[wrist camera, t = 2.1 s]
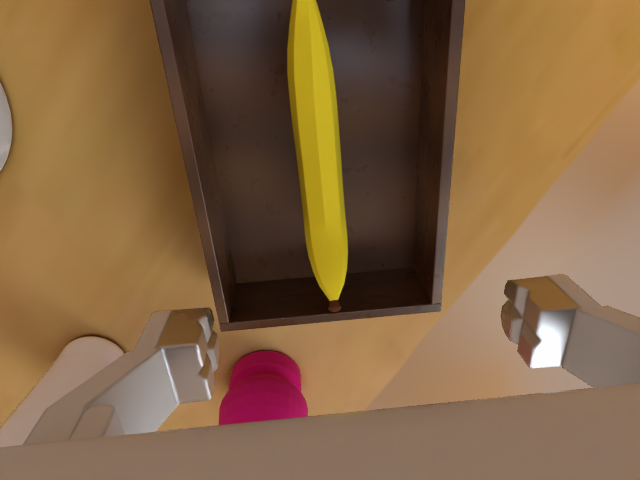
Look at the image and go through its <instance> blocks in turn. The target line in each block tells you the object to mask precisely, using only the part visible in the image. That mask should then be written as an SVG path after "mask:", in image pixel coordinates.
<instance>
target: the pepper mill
mask: <svg viewBox="0 0 640 480" xmlns="http://www.w3.org/2000/svg"><path fill="white" fill-rule="evenodd" d="M298 417H308V408H307V404H306V400H305V398H304V397H303V395H302V393H301V375H300V370H299V368H298V366H297V365H296V363H295V362H294V361H293V360H292V359H291V358H290V357H288V356H286V355H284V354H282V353H278V352H274V351H258V352H254V353H251V354H248V355H246V356H244V357H243V358H242V359H240V360H239V361H238V362H237V363H236V364H235V366H234V368H233V370H232V373H231V379H230V386H229V391H228V392H227V394H226V395H225V397H224V398H223V400H222V403H221V406H220V411H219V425H228V424H238V423H248V422H258V421H268V420H278V419H288V418H298Z"/></svg>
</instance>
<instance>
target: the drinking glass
mask: <svg viewBox="0 0 640 480" xmlns="http://www.w3.org/2000/svg"><path fill="white" fill-rule="evenodd" d="M123 354H124V352H123V351H122V350H121V348H120V347H118V346H117V345H116V344H115V343H113V342H111V341H109V340H107V339H104V338H100V337H93V336H89V337H81V338H78V339H75V340H73V341H72V342H70V343H69V344H67V345H66V346H65V347H64V349H63V350H62V351H61V353H60V354H59V356H58V357H57V359H56V360H55V362H54V363H53V364H52V365H51V367H50V368H49V369H48V370H47V371H46V373H45V374H44V375H43V376H42V378H41V379H40V380H39V381H38V382H37V384H36V385H35V386H34V387H33V388H32V390H31V391H30V392H29V393H28V394H27V396H26V397H25V398H24V399H23V400H22V402H21V403H20V404H19V405H18V406H17V408H16V409H15V410H14V411H13V412H12V414H11V415H10V416H9V417H8V418H7V419H6V421H5V422H4V423H3V424H2V425H1V427H0V447H8V446H18V445H23V443H24V442H25V440H26V439H27V437H28V436H29V434H30V432H31V431H32V429H33V428H34V426H35V425H36V423H37V421H38V420H39V418H40V417H41V415H42V414H43V412H44V411H45V409H47V408H48V407H49V406H51V405H52V404H54V403H55V402H56V401H58V400H59V399H61V398H62V397H64V396H65V395H66V394H68V393H69V392H71V391H72V390H74V389H75V388H76V387H78V386H79V385H81V384H82V383H83V382H85V381H86V380H88V379H89V378H91V377H92V376H93V375H95V374H96V373H98V372H99V371H101V370H102V369H103V368H105V367H106V366H108V365H109V364H110V363H112V362H113V361H115V360H116V359H118V358H119V357H120V356H122V355H123Z"/></svg>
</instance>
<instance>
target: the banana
mask: <svg viewBox="0 0 640 480" xmlns="http://www.w3.org/2000/svg"><path fill="white" fill-rule="evenodd" d="M287 75H288V87H289V98H290V107H291V117H292V126H293V134H294V141H295V149H296V157H297V165H298V173H299V182H300V191H301V200H302V210H303V220H304V230H305V239H306V245H307V251H308V256H309V260H310V263H311V266H312V270H313V273H314V275H315V277H316V280H317V282H318V284H319V286H320V288H321V289H322V291H323V292H324V293H325V295H326V296H327V298H328V299H329V301H330V303H329V307H328V309H329V310H330V311H332V312H337V311H339V310H340V309H341V306H340V304H339V302H338V299H339V296H340V293H341V291H342V288H343V286H344V283H345V277H346V272H347V261H348V241H347V228H346V217H345V205H344V192H343V178H342V164H341V150H340V136H339V121H338V110H337V98H336V89H335V81H334V73H333V67H332V61H331V56H330V51H329V46H328V42H327V38H326V34H325V30H324V27H323V23H322V19H321V16H320V12H319V9H318V5H317V2H316V0H293V2H292V9H291V16H290V24H289V36H288V47H287Z"/></svg>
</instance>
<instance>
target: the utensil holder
mask: <svg viewBox="0 0 640 480" xmlns="http://www.w3.org/2000/svg"><path fill="white" fill-rule="evenodd" d="M11 141H12V119H11V113H10V108H9V104H8V101H7V97H6V94H5V92H4V89H3V87H2V84H1V82H0V171H1V170H2V168H3V166H4V164H5V162H6V160H7V158H8V154H9V151H10V147H11Z"/></svg>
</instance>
